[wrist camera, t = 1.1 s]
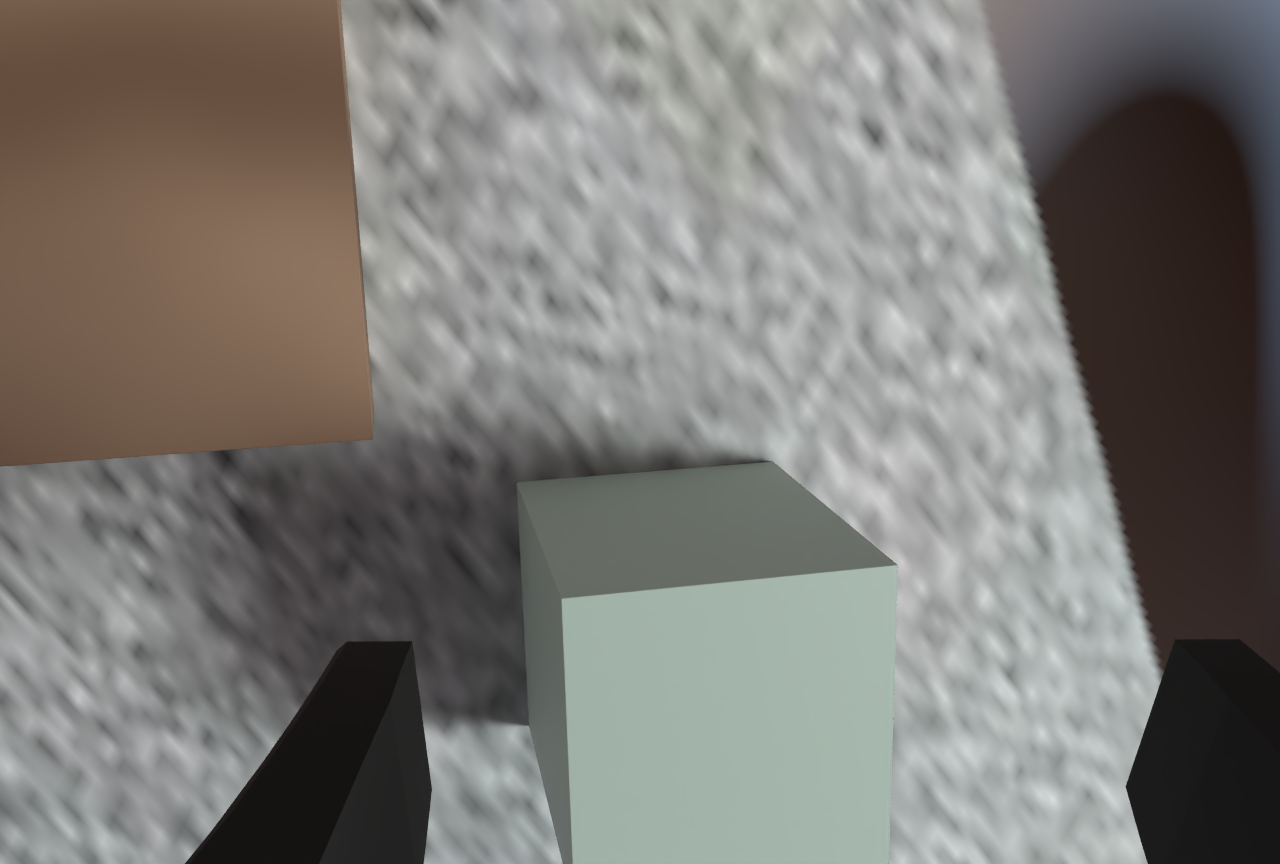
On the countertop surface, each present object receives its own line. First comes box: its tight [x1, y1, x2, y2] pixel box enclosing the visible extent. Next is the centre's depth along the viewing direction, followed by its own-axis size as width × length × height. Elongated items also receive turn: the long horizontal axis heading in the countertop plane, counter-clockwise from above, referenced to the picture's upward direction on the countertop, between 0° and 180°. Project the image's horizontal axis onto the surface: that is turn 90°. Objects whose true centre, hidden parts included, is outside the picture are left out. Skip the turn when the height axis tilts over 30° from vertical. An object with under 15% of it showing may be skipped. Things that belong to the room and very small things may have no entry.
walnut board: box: [0, 0, 374, 466], centre depth 19 cm, size 10×10×2 cm
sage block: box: [517, 462, 898, 864], centre depth 21 cm, size 5×5×6 cm
